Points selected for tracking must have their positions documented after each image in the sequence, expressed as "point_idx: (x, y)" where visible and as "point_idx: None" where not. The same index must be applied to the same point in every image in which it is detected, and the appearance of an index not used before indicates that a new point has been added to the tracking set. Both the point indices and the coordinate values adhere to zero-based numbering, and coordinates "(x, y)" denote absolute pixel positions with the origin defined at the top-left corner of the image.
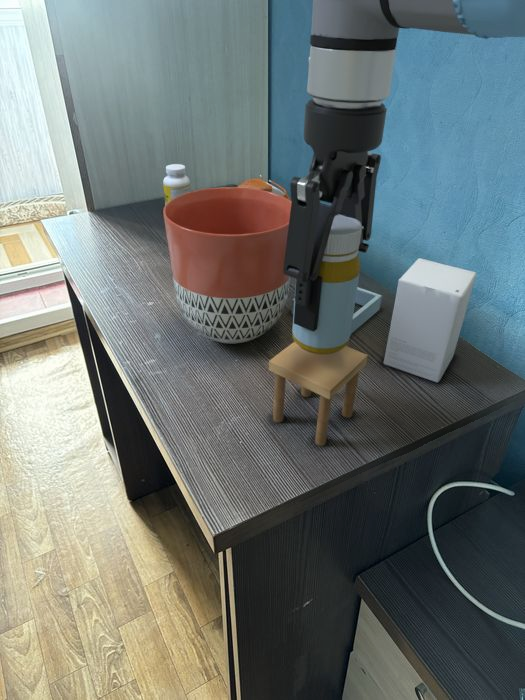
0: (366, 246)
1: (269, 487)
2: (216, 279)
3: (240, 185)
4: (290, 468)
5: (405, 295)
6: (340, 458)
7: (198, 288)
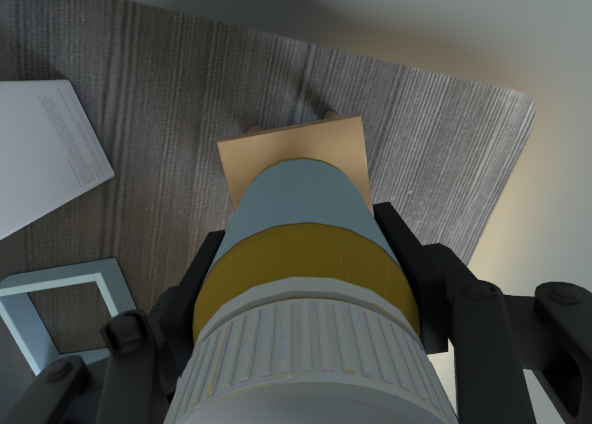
0: (116, 327)
1: (446, 105)
2: None
3: None
4: (400, 111)
5: (1, 211)
6: (334, 75)
7: None
